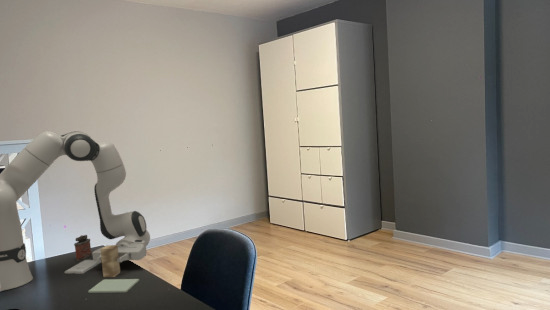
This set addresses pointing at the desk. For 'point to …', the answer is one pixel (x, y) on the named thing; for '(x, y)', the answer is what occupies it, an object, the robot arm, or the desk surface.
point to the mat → (113, 285)
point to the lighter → (82, 248)
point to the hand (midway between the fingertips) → (109, 260)
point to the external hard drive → (82, 267)
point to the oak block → (110, 261)
